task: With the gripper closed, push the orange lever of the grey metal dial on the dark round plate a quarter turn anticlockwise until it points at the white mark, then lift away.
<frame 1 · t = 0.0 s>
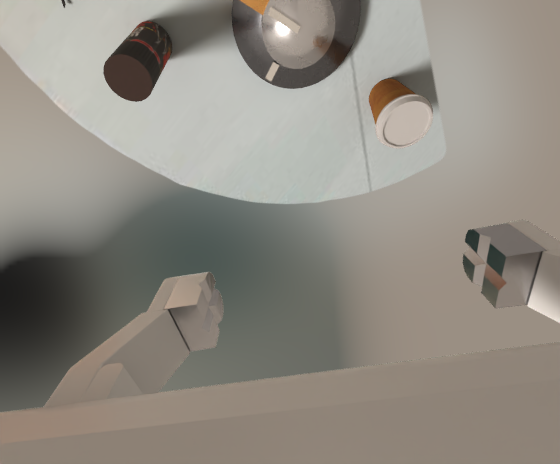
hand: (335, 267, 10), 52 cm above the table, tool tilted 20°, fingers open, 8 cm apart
dial: (276, 12, 44), point 4 cm above the table, hinge at 0.0°
disposable coffee cup: (384, 94, 59), on the table
plate: (295, 19, 48), on the table
deodorant: (153, 42, 50), on the table
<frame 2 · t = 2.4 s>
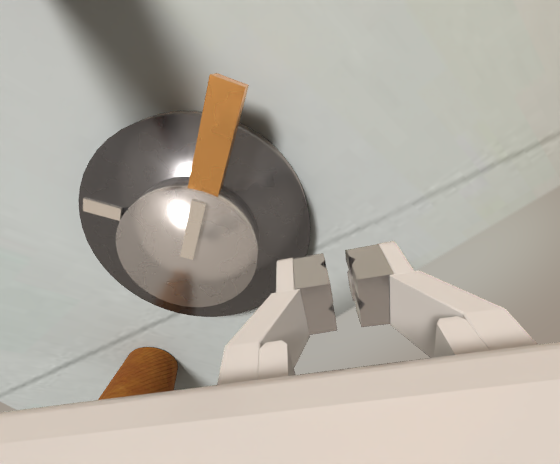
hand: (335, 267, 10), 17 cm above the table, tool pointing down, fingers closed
dial: (200, 207, 23), point 4 cm above the table, hinge at 0.0°
disposable coffee cup: (153, 361, 38), on the table
plate: (202, 223, 28), on the table
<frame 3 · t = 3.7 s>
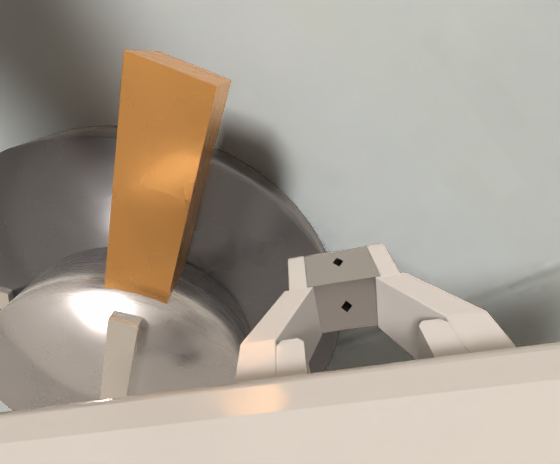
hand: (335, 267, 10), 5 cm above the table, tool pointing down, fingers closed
dial: (140, 310, 12), point 4 cm above the table, hinge at 0.0°
plate: (161, 304, 17), on the table
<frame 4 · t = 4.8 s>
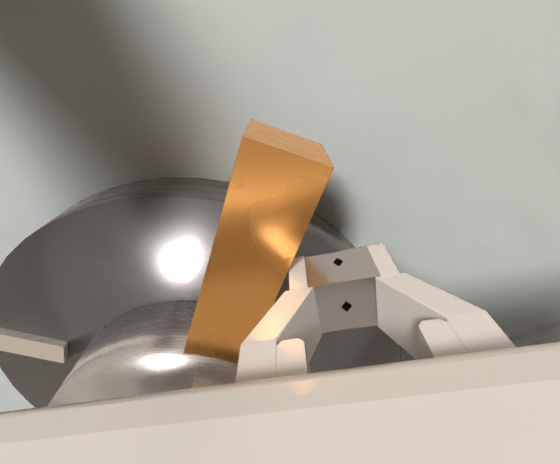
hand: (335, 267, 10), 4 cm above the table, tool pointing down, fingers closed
dial: (209, 368, 12), point 4 cm above the table, hinge at 0.0°, touching gripper
plate: (210, 345, 17), on the table
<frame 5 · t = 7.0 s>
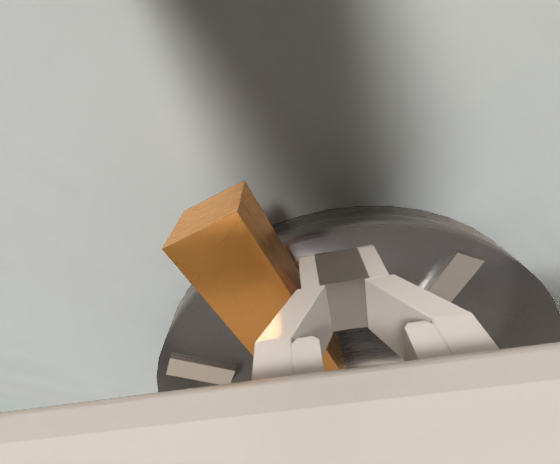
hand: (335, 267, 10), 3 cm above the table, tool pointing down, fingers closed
dial: (334, 396, 12), point 4 cm above the table, hinge at 46.4°, touching gripper
plate: (345, 363, 17), on the table
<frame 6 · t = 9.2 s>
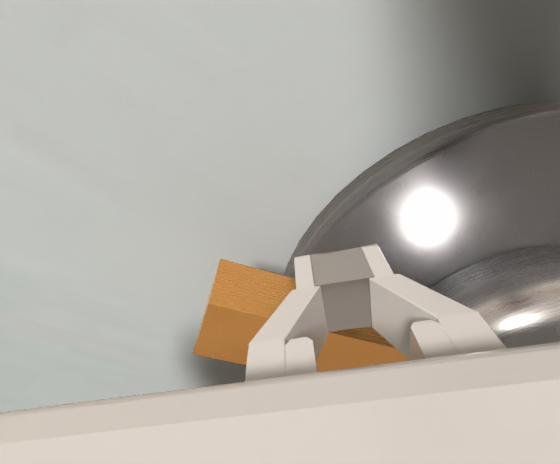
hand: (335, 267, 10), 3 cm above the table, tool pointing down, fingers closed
dial: (450, 367, 11), point 4 cm above the table, hinge at 89.6°, touching gripper
plate: (471, 312, 15), on the table
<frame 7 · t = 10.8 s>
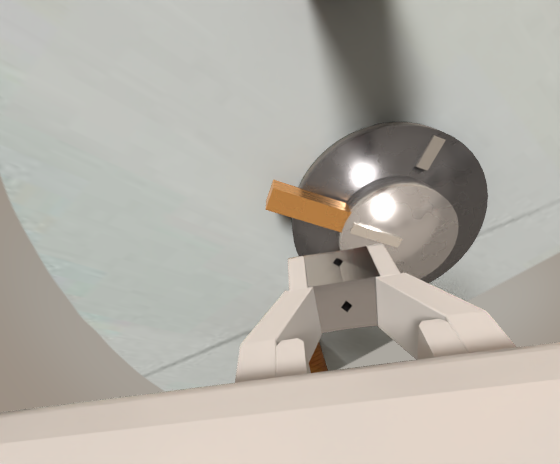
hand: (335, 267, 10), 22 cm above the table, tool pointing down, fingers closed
dial: (360, 223, 29), point 4 cm above the table, hinge at 89.7°
disposable coffee cup: (296, 341, 43), on the table
plate: (381, 216, 33), on the table
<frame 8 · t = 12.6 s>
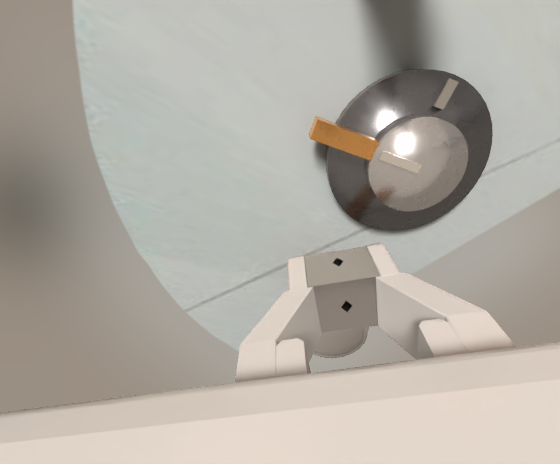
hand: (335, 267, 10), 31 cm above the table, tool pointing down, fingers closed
dial: (386, 154, 35), point 4 cm above the table, hinge at 89.7°
disposable coffee cup: (322, 277, 49), on the table
plate: (402, 156, 39), on the table
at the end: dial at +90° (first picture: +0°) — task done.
